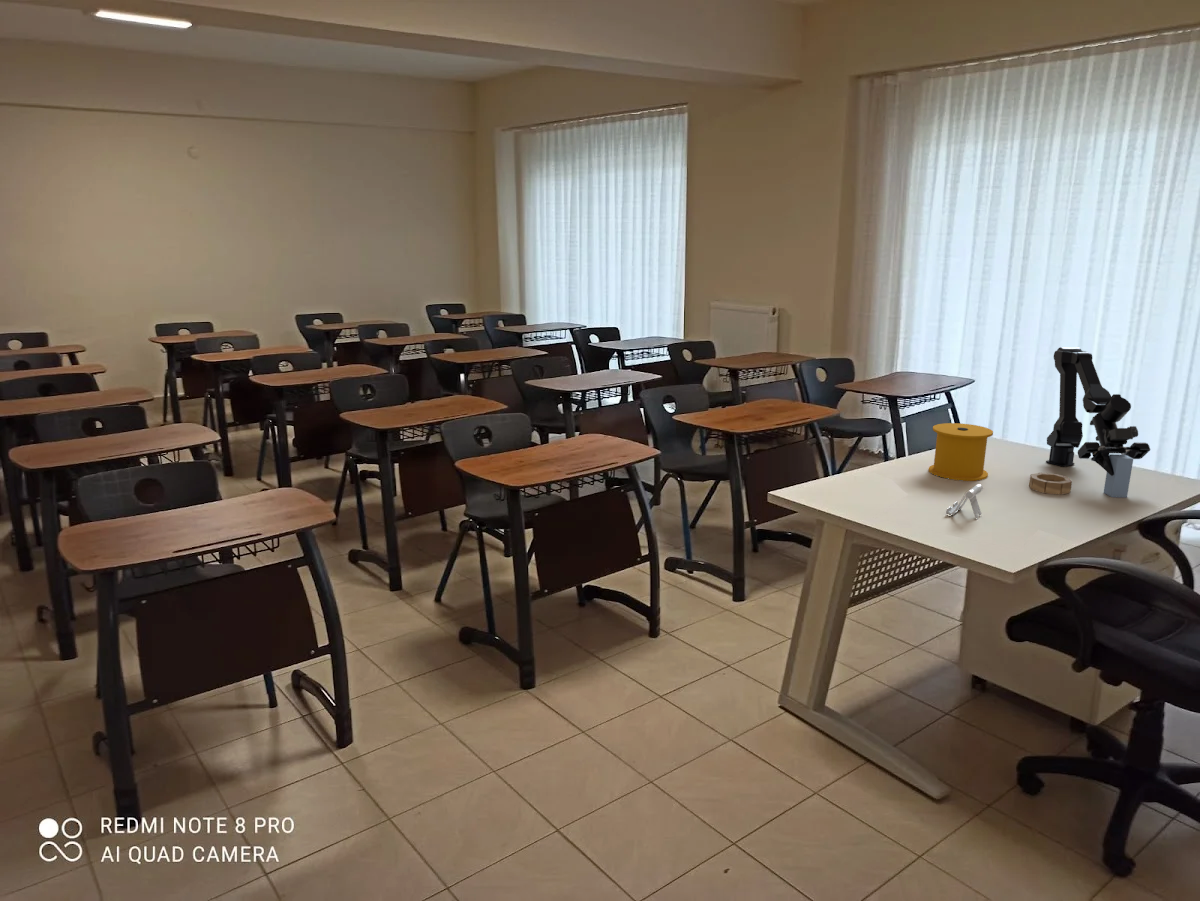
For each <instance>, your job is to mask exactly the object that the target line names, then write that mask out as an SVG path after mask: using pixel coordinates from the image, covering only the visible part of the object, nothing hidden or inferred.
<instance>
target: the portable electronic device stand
mask: <svg viewBox="0 0 1200 901" xmlns="http://www.w3.org/2000/svg"><path fill="white" fill-rule="evenodd" d="M983 489H984V488H983V485H982V484H980V483H978V484H975V485H974V486H973V487H971V488H970V489H969V490H967V491H966V492H965V493H964V495H963V496H962V497H961V498H962V499H960V501H957V500H956V501H955V502H953V503H952V505H949V507H947V508H946V510H945V514H949V515H951V514H952V515H953V516H954V515H955V514H956V513H958V510H959V511H961V509H962V508H963V506H965V504H966V503H967V500H969V502H970V506H971V509H972V512H973V514H974V517H975V519H976V518H978V519H979V515H981V514H982V510H981V508H980V505H979V501H978V498H977V495H978V494H979V493H981V492H982V491H983Z"/></svg>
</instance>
